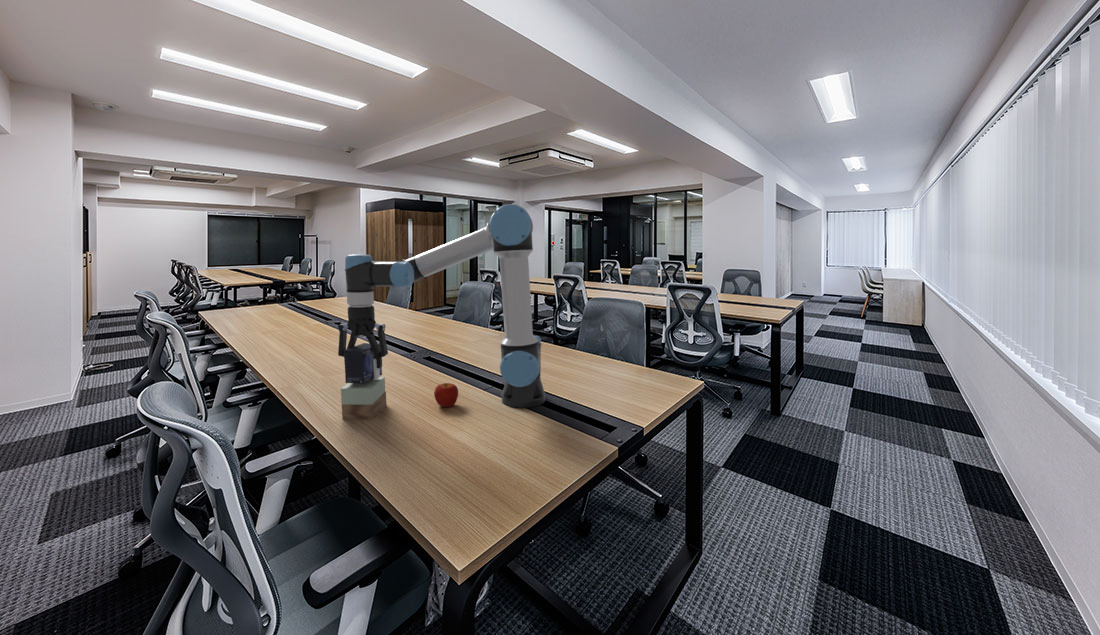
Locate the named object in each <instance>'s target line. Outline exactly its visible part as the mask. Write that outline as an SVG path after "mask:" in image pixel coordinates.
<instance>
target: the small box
mask: <svg viewBox="0 0 1100 635" xmlns="http://www.w3.org/2000/svg"><path fill="white" fill-rule="evenodd" d="M378 346H379V348H380V344H379V343H378ZM343 358H344V360H343V361H344V373H345V374H344V377H345V383H346V384H348V383H355V384H364V383H366V382H368V381H370V380H372V379H374V365H373V359H374V358H376V357H375V355H374V352H373V350H372V348H371V345H370V343H365V342H363V343H360V344H357V345H355V346H354V347H351V348H348V349H347V348H346V349H345V350H344V357H343ZM382 367H383V366H382ZM382 367H381V368H379V369H380V377H382V376H383V371H382V370H383V368H382Z"/></svg>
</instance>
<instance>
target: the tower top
mask: <svg viewBox="0 0 1100 635" xmlns="http://www.w3.org/2000/svg"><path fill="white" fill-rule="evenodd" d="M385 378H386V377H385V376H380V377H379V378H378V379H372V380H370V381H368V382H366V383H364V384H355V383H346V384H345V385H344V386H342V387H341V388H340V397H341V398H340V399H341V405H342V404H348V405H372V404H373V403H374V402H375V401H376V400H377V399H378V398H379V397H380V396H381V395H382V394H383V393H384V392H386V379H385Z"/></svg>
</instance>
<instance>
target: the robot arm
mask: <svg viewBox="0 0 1100 635" xmlns="http://www.w3.org/2000/svg"><path fill="white" fill-rule="evenodd" d="M533 232H534V224H533V221H532V219H531V216H530V214H529V212H528V211H527V210H526V209H525V208H524V207H522V206H520V205H517V204H509V203H508V204H504V205H501V206H499V207H497V209H495V211H494V212H493V213H492V215H491V216H490V220H489V222H487V223H486V226H485V227H483V228H481V229H478V230H476V231H474V232H471V233H468V234H466V235H464V236H461V237H459V238H456V239H455V240H451V241H449V242H446V243H445V244H441V245H439V246H437V247H435V248H432V249H430V250H427V251H424V252H422V253H420V254H417V255H415V256H412V257H409V258H407V259H404V260H399V261H373V260H374V259H373V256H372V255H370V254H348V255H346V256H345V258H344V259H345V262H344V264H345V268H344V271H345V281H346V303H347V304H346V305H347V318H348V320H347V323H340V324H339V325H338V326H337V328H338V332H339V334H338V336H339V338H338V339H339V340H338V351H337V353H338V354H337V355H338V356H339V357H343V358H344V350H345V349H348V348H351V347H354V346H356V343H357V340H358V337H359V336H363V337H365V338H366V340H368V342H369V344H370V345H371V348H372V350H373V352H374V355H375V357H376V358H374V359H373V365H374V379H378V378H379V377H381V376H380V369H379V368H381V367H383V357H386V356H388V354H389V351H388V345H387V339H386V334H385V331H386V324H385V323H382V324H380V323H377V322H376V318H375V317H376V316H375V306H374V304H375V297H374V296H375V295H374V294H375V292H374V287H387V288H388V287H393V288H406V287H408V288H409V287H411V286H412V284H413V283H414V284H415V283H416V282H418V281H420V280H422V279H424V278H426V277H429V276H431V275H434V274H436V273H439V272H441V271H443V270H446V269H448V268H451V267H454V266H456V265H459V264H461V263H463V262H466V261H469V260H471V259H474V258H476V257H479V256H481V255H484V254H486V253H488V252H491V251H493V254H495V255H496V256H497V257H498V260H499V269H500V270H499V271H500V283H501V284H500V286H501V287H500V288H501V300H502V313H503V314H502V315H503V325H504V326H503V328H504V337H502V338H503V339H502V340H501V341H500V355H501V361H500V363H499V364H500V365H499V370H500V375H501V377H502V379H503V380H504V381H505V384H504V387H503V389H502V392H501V402H502V404H504V405H506V406H509V407H513V408H526V409H527V408H533V407H538V406H541V405H543V404H544V403H545V402H546V392H545V389H544V386H543V383H542V380H541V373H542V372H541V364H542V361H541V360H542V354H541V352H542V339H541V337H540V336H538V335H535V334H533V333H534V332H533V331H534V330H533V316H532V300H531V284H530V283H531V282H530V280H531V279H530V264H529V256H530V255H531V253H533V251H534V248H533ZM349 329H350V331H351V333H350V336H349V341H348V340H347V339H348V330H349ZM374 329H376V331H377V336H378V337H377V338H378V342H377V339H376V337H375V333H374ZM347 341H348V344H347ZM378 344H380V348H379V346H378Z"/></svg>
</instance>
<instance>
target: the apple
mask: <svg viewBox="0 0 1100 635" xmlns="http://www.w3.org/2000/svg"><path fill="white" fill-rule="evenodd" d="M433 396H434V399H435V401H436V403H437V404H438V406H441V407H443V408H451V407H453V406H454V405H455V404H456V402H457V400H458V397H459V388H458V386H456V385H455V384H454V383H449V382H444V383H441V384H438V385H437V386H436V387H435V389H434V393H433Z"/></svg>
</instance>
